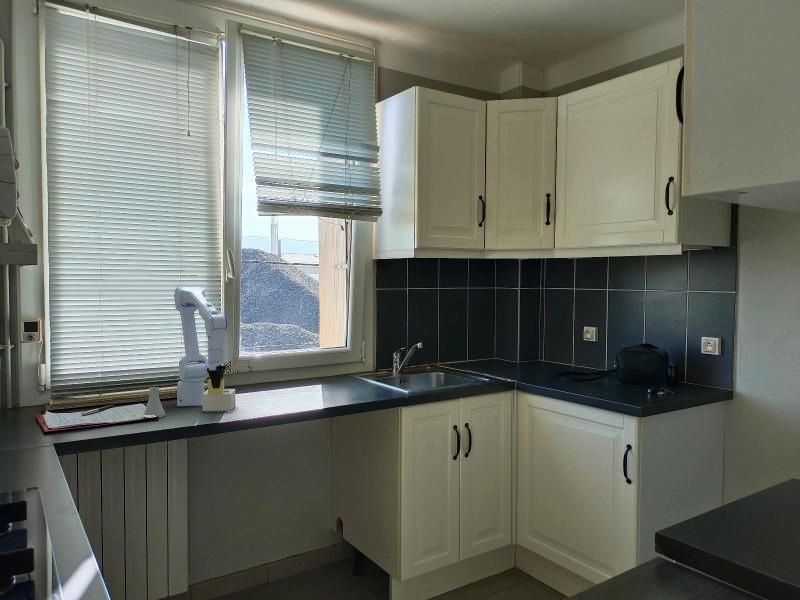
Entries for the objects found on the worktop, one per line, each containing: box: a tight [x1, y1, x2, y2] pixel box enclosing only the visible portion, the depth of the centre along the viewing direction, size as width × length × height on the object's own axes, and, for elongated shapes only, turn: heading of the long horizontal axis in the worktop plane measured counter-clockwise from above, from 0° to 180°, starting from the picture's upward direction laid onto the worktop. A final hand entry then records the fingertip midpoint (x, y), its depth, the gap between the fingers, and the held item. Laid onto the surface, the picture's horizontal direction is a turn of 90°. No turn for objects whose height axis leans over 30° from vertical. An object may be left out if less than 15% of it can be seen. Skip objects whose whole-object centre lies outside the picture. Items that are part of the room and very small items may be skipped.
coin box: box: [201, 388, 236, 413], centre depth 216 cm, size 10×8×6 cm
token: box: [207, 378, 225, 395], centre depth 209 cm, size 5×2×5 cm, turn 96°
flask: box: [143, 386, 166, 419], centre depth 205 cm, size 7×7×10 cm
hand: (216, 387), depth 209 cm, fingers closed on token, 2 cm apart
